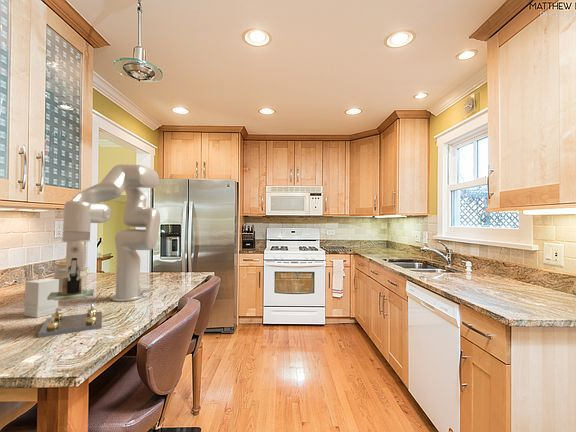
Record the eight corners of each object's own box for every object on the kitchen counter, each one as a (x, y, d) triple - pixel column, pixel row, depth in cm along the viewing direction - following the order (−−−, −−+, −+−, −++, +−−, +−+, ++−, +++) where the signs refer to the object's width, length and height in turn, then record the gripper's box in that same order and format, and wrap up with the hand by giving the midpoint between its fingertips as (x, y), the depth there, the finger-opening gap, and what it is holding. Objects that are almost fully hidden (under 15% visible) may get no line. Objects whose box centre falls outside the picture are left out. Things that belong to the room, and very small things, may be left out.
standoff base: (101, 314, 108) (102, 301, 109) (101, 327, 95) (102, 312, 95) (46, 321, 100) (47, 307, 100) (38, 337, 86) (38, 320, 86)
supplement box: (58, 312, 110) (60, 279, 111) (36, 318, 103) (37, 282, 104) (45, 310, 113) (47, 277, 113) (23, 315, 106) (24, 281, 106)
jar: (92, 291, 144) (93, 256, 145) (62, 297, 132) (64, 258, 133) (76, 288, 149) (77, 254, 150) (46, 294, 138) (48, 256, 138)
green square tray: (93, 290, 105) (94, 274, 105) (93, 297, 95) (93, 279, 95) (51, 293, 99) (52, 276, 99) (45, 301, 89) (47, 282, 89)
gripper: (89, 238, 93) (86, 295, 92) (90, 236, 107) (88, 285, 106) (59, 238, 89) (56, 297, 88) (65, 236, 103) (62, 287, 102)
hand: (73, 290), depth 97 cm, fingers closed on green square tray, 5 cm apart
